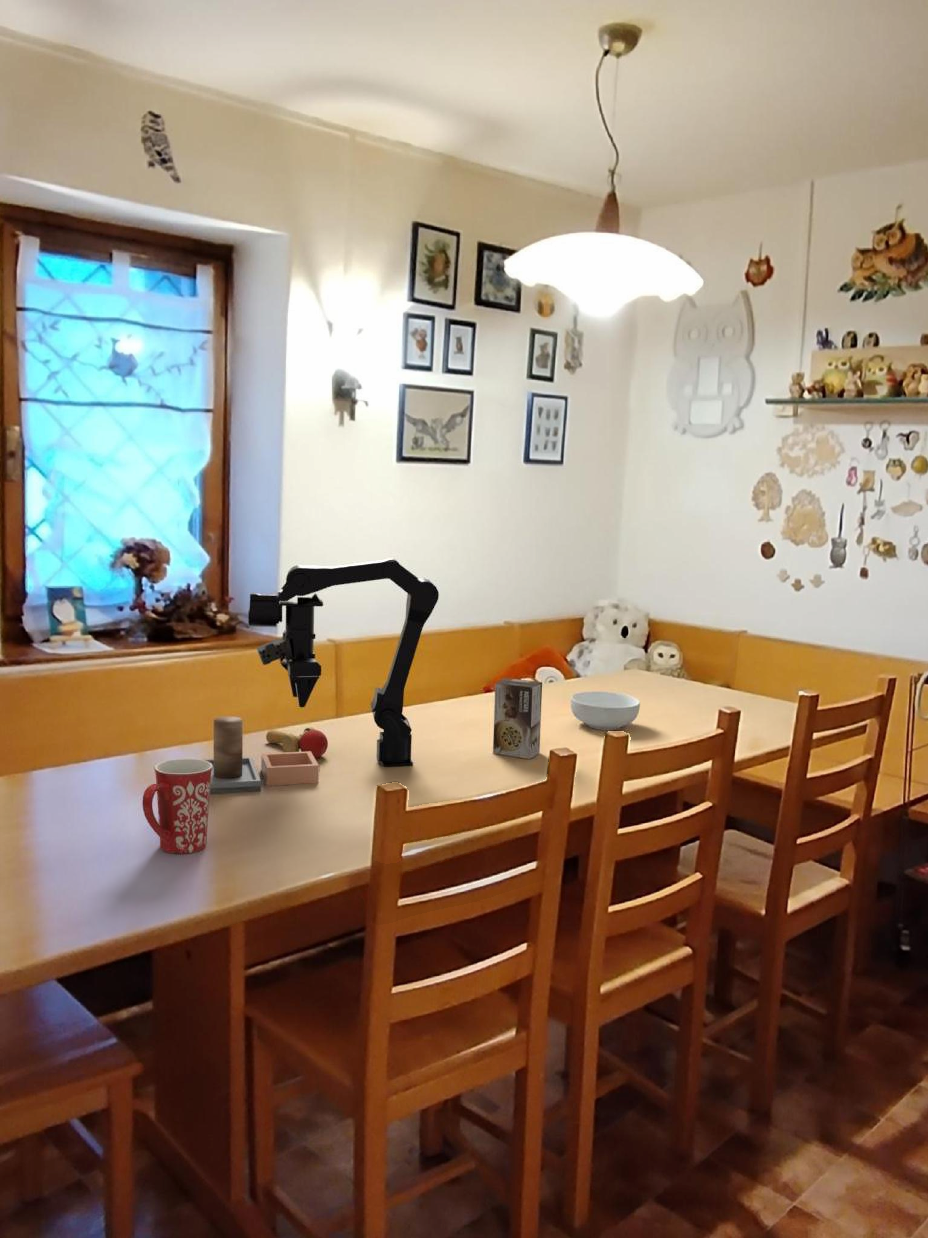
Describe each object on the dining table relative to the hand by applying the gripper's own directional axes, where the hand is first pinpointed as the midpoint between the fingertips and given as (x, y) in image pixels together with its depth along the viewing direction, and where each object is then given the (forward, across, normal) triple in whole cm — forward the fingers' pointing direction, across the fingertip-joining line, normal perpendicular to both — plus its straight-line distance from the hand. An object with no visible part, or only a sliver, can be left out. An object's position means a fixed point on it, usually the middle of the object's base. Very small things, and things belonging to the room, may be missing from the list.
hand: (298, 701), depth 213 cm
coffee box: (+13, +1, +48) cm, 50 cm away
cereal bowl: (+13, -18, +78) cm, 81 cm away
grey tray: (+13, +9, -15) cm, 22 cm away
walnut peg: (+12, +9, -15) cm, 21 cm away
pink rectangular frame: (+13, +9, -3) cm, 16 cm away
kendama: (+13, -9, +1) cm, 16 cm away
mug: (+13, +44, -26) cm, 53 cm away
